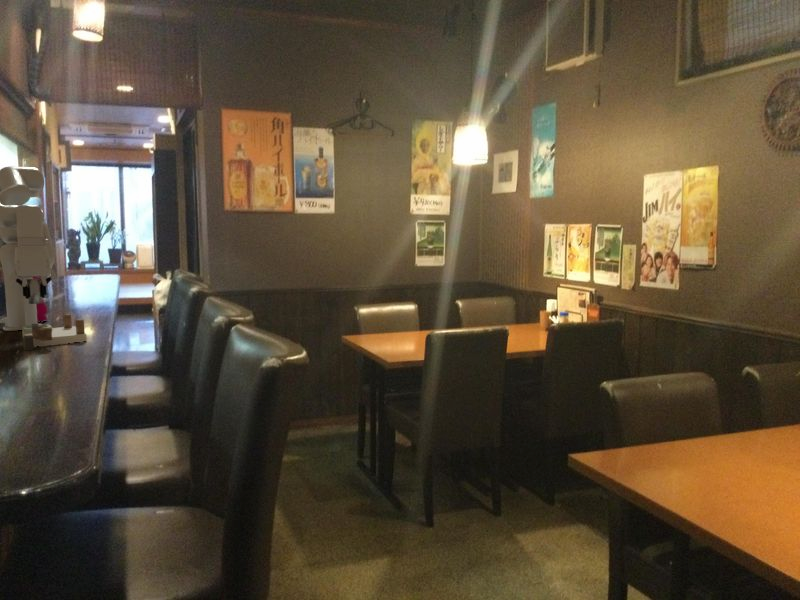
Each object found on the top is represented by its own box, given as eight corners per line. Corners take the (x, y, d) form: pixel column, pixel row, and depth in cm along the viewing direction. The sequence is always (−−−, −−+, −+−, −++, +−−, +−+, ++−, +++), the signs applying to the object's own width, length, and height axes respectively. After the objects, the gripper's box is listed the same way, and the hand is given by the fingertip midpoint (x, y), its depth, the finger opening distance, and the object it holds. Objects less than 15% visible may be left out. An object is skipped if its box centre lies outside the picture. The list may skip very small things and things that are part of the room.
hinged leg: (41, 336, 201) (40, 324, 201) (52, 340, 195) (51, 327, 194) (33, 337, 200) (32, 325, 199) (43, 341, 193) (42, 328, 193)
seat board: (16, 338, 215) (15, 317, 214) (75, 333, 225) (73, 313, 224) (25, 350, 192) (23, 327, 191) (90, 344, 203) (88, 322, 202)
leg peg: (25, 303, 212) (23, 279, 211) (34, 302, 216) (32, 278, 215) (36, 303, 211) (34, 279, 210) (45, 302, 215) (43, 278, 214)
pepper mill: (32, 323, 250) (28, 272, 247) (24, 322, 254) (20, 271, 252) (51, 321, 255) (48, 271, 253) (43, 320, 260) (39, 270, 257)
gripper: (57, 242, 219) (61, 295, 221) (0, 243, 210) (4, 298, 211) (61, 242, 213) (64, 297, 215) (2, 243, 204) (6, 300, 205)
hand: (35, 297), depth 213 cm, fingers closed on leg peg, 4 cm apart
